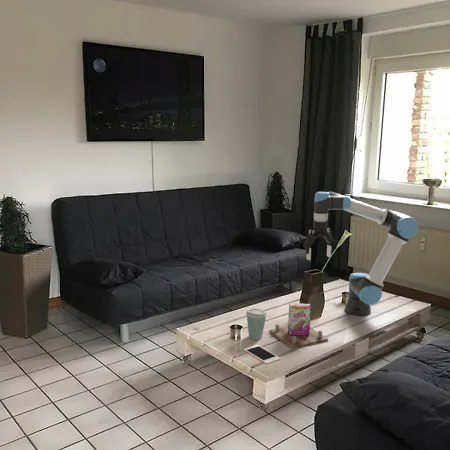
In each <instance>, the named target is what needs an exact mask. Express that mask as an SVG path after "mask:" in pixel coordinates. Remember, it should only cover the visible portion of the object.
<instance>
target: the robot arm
mask: <svg viewBox="0 0 450 450" xmlns="http://www.w3.org/2000/svg"><path fill="white" fill-rule="evenodd" d="M313 202H314V204H313V205H314V207H313V221H312V222H313V223H312V224H313V225H312V226H313V229H308V231H307V235H306V238H305V240H304V242H303V243H302V244H303V245H302V247H304V248H305V254H306V259H305V260H308V261H311V256H312V248H311V247H312V246H313V244H314V242H315V241H316V240H317V239H318V238H319V239H320V238H323V239H324V240H325V241H326V243H327V245H326V247H327V248H326V257H328V258H331V256H332V251H333V247H334V246H335V245H336V241H335V237H334V235H333V232H332V230H333V229H332V228H331V227H328V222H329V221H328V219H329V211H331V210H334V211H335V210H336V211H338V210H339V211H340V210H341V211H346V212H349V213H351V214H354V215H357V216H360V217H363V218H365V219H368V220H371V221H374V222H377V224H378V225H380V226H383V227H385V228H386V229H388V232H387V235H388V238H387V240H386V241H385V243H384V245H383V246H382V249H381V251H380V253H379V254H378V255H377V258H376V260H375V262H374V263H373V264H372V267H371V269H370V271H369V273H365V272H353V273H350V275H349V279H348V280H349V281H348V283H349V284H348V297H347V300H346V302H345V304H344V311H345V312H347V313H348V314H350V315H355V316H367V315H370V314H371V313H372V311H371V310H372V308H371V306H372V305H375V304H377V303H379V302H380V300H382V297H383V293H382V290H383V288H384V283H383V282H384V280H385V279H386V276H387V274H388V273H389V271H390V269H391V267H392V265H393V264H394V261H395V260H396V258H397V256H398V255H399V253H400V251H401V249H402V247H403V245H404V244H408V243H409V241H410V239H412V238H414V237H415V236H416V235H417V234H418V231H419V225H418V224H419V223H418V222H417V220H416V219H415V218H413V217H412V216H411V215H408V214H406V213H403V212H399V211H395V210H390V209H387V208H379V207H376V206H373V205H370V204H368V203H366V202H365V203H364V202H362V201H359V200H356V199H354V198H351V197H350V196H349V195H342V194H340V193H337V192H334V191H317V192H316V193H314V200H313Z"/></svg>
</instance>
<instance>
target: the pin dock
mask: <svg viewBox="0 0 450 450" xmlns="http://www.w3.org/2000/svg"><path fill="white" fill-rule="evenodd" d="M269 333H270V334H272V336H274V337H275V338H277V339H278V340H279V341H281V342H282V343H283V344H285V345H286V346H287V347H288V348H290V349H292V350H293V349H297V348H302V347H307V346H312V345H315V344H316V345H317V344H321V343H326V342H329V338H328V337H326V336H324V335H323V331H322V330H318V331H316V330H315V329H314V328H312V327H310V331H309V336H295V335H288V326H283V327H280V324H278V323H276V324H275V328H273V329H270V330H269Z"/></svg>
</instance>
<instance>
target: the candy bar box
mask: <svg viewBox="0 0 450 450" xmlns="http://www.w3.org/2000/svg"><path fill="white" fill-rule="evenodd" d="M311 311H312V306H311V303H298V302H296V303H295V302H289V305H288V322H287V324H288V325H287V327H288V335H295V336H309V331H310V328H311Z"/></svg>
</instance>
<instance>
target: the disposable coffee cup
mask: <svg viewBox="0 0 450 450" xmlns="http://www.w3.org/2000/svg"><path fill="white" fill-rule="evenodd" d="M245 314H246V321H247V331H248V337H249V339H251V340H253V341H254V340H255V341H256V340H257V341H258V340H261V338H262V337H263V334H264V329H265V324H266V319H267V316H268V314H267V312H266V310H264V309H261V308H248V310H247V311H246V313H245Z"/></svg>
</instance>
